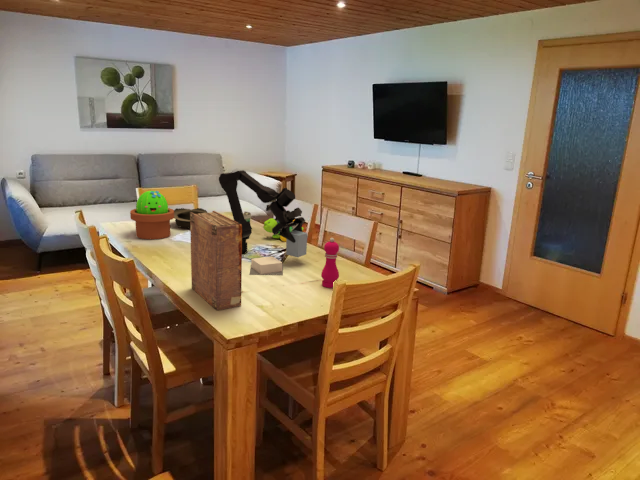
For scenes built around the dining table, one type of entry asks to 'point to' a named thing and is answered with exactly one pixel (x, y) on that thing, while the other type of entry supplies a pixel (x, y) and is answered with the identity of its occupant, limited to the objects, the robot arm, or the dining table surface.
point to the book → (216, 259)
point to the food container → (247, 216)
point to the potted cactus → (152, 216)
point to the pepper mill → (330, 264)
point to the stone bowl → (185, 216)
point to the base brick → (266, 265)
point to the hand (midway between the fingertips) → (299, 240)
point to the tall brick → (297, 244)
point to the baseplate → (253, 272)
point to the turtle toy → (271, 223)
